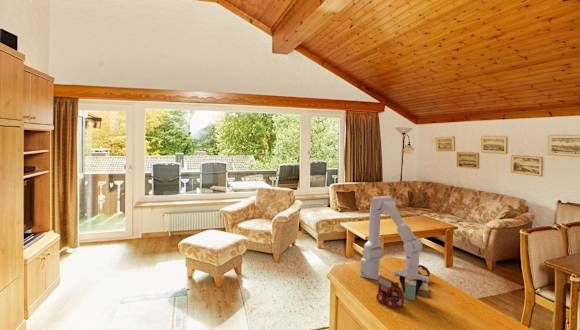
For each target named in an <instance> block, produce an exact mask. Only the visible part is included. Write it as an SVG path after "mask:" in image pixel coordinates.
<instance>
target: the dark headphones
mask: <svg viewBox="0 0 580 330" xmlns="http://www.w3.org/2000/svg"><path fill="white" fill-rule="evenodd" d="M420 268H421V269H422V270H423V271H425V272H426V274H424V275H423V273H421V272H420V270H419V269H420ZM418 274H420V275H423V276H427V277H428V278H429V279H430V275H431V272H430V271H429V269H428V268H427V266H424V265H422V264H419V267H418ZM422 283H425V281H422Z"/></svg>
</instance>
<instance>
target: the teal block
mask: <svg viewBox="0 0 580 330" xmlns="http://www.w3.org/2000/svg"><path fill="white" fill-rule="evenodd" d="M415 291H416V283H410V281H405V294H404V293H403V296H404V300H411V301H416V296H415Z"/></svg>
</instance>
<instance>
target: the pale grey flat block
mask: <svg viewBox="0 0 580 330" xmlns="http://www.w3.org/2000/svg"><path fill="white" fill-rule="evenodd" d="M409 280H410V281H409V282H410V283H416V280H411V279H409ZM417 295H419V296H424V297H429V284H428V282H423V283H422V286H421V287H420V288H419V290H418V293H417Z"/></svg>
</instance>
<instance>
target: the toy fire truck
mask: <svg viewBox="0 0 580 330" xmlns="http://www.w3.org/2000/svg"><path fill="white" fill-rule="evenodd" d="M377 282H378V287H377V294H376V300H377V301H378V303H380V304H383V303H385V302H386V305H387V306H388V308H390V309H394V308H395V307H396V305H398V306H401V307H402V306H403V305H404V302H405V298H404V293H403V289H402V287H401V286H400V285H399V282H397V281H393V280H391V279H390V278H387V277H385V276H383V275H380V276H379V277H378V280H377Z"/></svg>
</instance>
